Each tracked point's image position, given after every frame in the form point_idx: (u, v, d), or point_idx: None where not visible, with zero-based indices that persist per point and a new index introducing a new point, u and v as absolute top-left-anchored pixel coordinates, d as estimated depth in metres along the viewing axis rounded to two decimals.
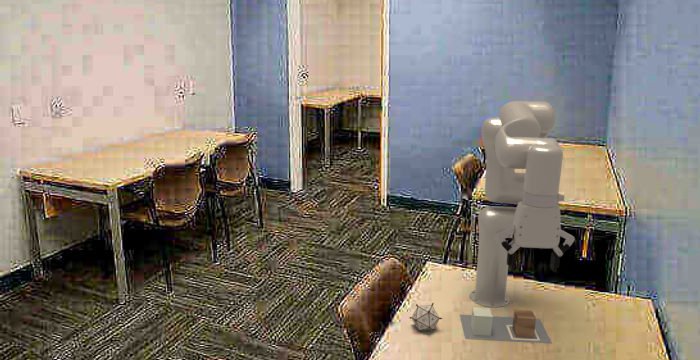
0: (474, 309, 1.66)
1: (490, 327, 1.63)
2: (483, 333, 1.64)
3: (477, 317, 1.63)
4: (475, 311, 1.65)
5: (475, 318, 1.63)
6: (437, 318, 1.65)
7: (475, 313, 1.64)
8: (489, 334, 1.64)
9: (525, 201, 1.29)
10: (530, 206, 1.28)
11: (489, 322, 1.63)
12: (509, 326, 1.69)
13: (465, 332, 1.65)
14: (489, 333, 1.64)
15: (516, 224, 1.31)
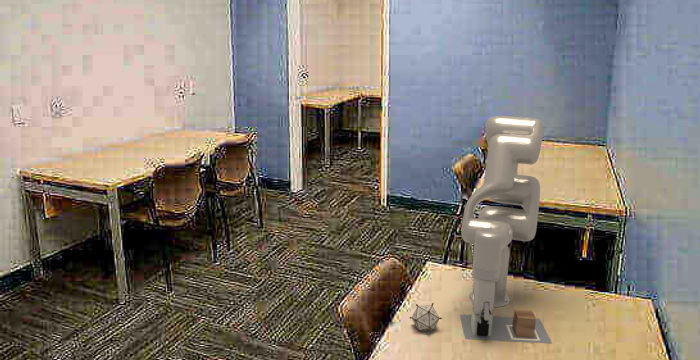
0: None
1: (490, 327, 1.63)
2: None
3: (477, 317, 1.63)
4: None
5: (475, 318, 1.63)
6: (437, 318, 1.65)
7: (475, 313, 1.64)
8: (489, 334, 1.64)
9: (492, 278, 1.58)
10: (496, 279, 1.59)
11: (489, 322, 1.63)
12: (509, 326, 1.69)
13: (465, 332, 1.65)
14: (489, 333, 1.64)
15: (490, 299, 1.58)
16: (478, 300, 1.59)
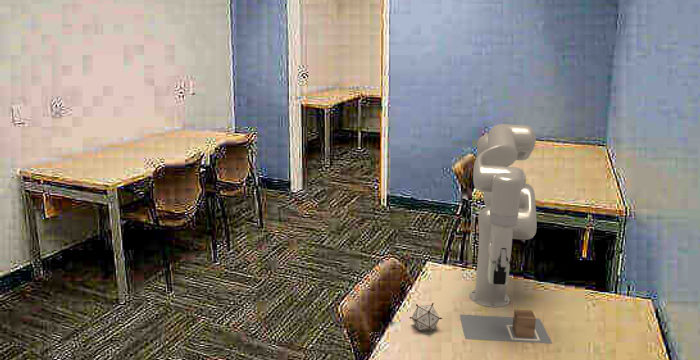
0: None
1: (507, 276, 1.59)
2: None
3: (494, 265, 1.58)
4: None
5: (492, 266, 1.58)
6: (437, 318, 1.65)
7: (492, 261, 1.59)
8: (506, 283, 1.59)
9: (510, 224, 1.54)
10: (514, 225, 1.54)
11: (506, 270, 1.58)
12: (509, 326, 1.69)
13: (465, 332, 1.65)
14: (506, 282, 1.59)
15: (508, 245, 1.54)
16: (495, 246, 1.54)
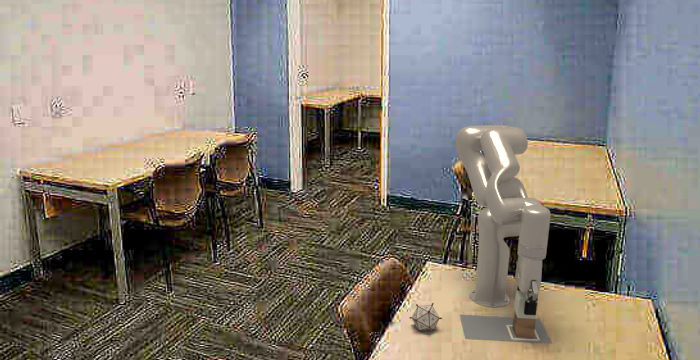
0: (518, 292, 1.64)
1: None
2: (528, 316, 1.61)
3: (522, 300, 1.60)
4: (519, 294, 1.63)
5: (520, 301, 1.60)
6: (437, 318, 1.65)
7: (520, 296, 1.61)
8: (534, 317, 1.61)
9: (539, 256, 1.55)
10: (543, 257, 1.56)
11: None
12: (509, 326, 1.69)
13: (465, 332, 1.65)
14: (534, 316, 1.61)
15: (537, 277, 1.56)
16: (525, 278, 1.56)
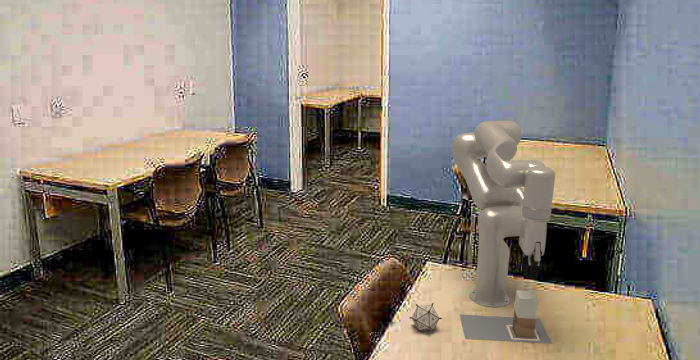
0: (518, 292, 1.64)
1: (535, 310, 1.61)
2: (528, 316, 1.61)
3: (522, 300, 1.60)
4: (519, 294, 1.63)
5: (520, 301, 1.60)
6: (437, 318, 1.65)
7: (520, 296, 1.61)
8: (534, 317, 1.61)
9: (544, 217, 1.52)
10: (548, 219, 1.53)
11: (534, 304, 1.60)
12: (509, 326, 1.69)
13: (465, 332, 1.65)
14: (534, 316, 1.61)
15: (542, 239, 1.53)
16: (529, 240, 1.53)
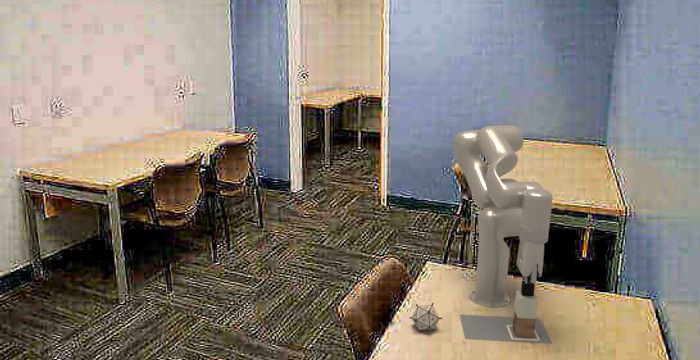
0: (518, 292, 1.64)
1: (535, 310, 1.61)
2: (528, 316, 1.61)
3: (522, 300, 1.60)
4: (519, 294, 1.63)
5: (520, 301, 1.60)
6: (437, 318, 1.65)
7: (520, 296, 1.61)
8: (534, 317, 1.61)
9: (541, 239, 1.54)
10: (545, 241, 1.55)
11: (534, 304, 1.60)
12: (509, 326, 1.69)
13: (465, 332, 1.65)
14: (534, 316, 1.61)
15: (539, 261, 1.54)
16: (527, 262, 1.55)
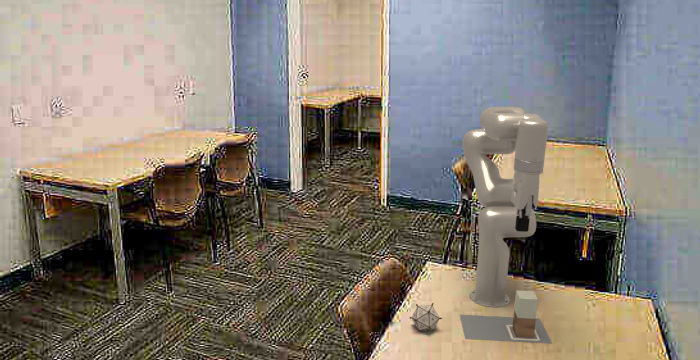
0: (518, 292, 1.64)
1: (535, 310, 1.61)
2: (528, 316, 1.61)
3: (522, 300, 1.60)
4: (519, 294, 1.63)
5: (520, 301, 1.60)
6: (437, 318, 1.65)
7: (520, 296, 1.61)
8: (534, 317, 1.61)
9: (537, 170, 1.49)
10: (541, 172, 1.50)
11: (534, 304, 1.60)
12: (509, 326, 1.69)
13: (465, 332, 1.65)
14: (534, 316, 1.61)
15: (535, 192, 1.49)
16: (522, 194, 1.50)
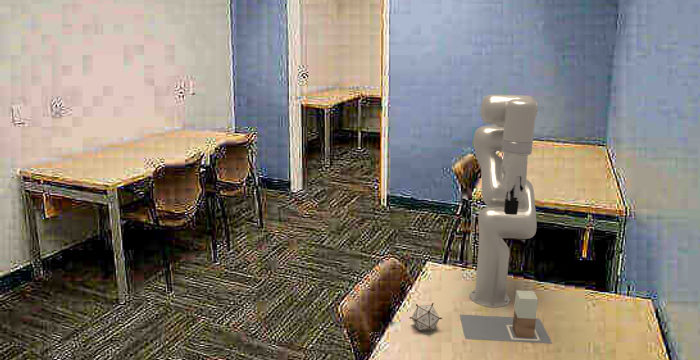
0: (518, 292, 1.64)
1: (535, 310, 1.61)
2: (528, 316, 1.61)
3: (522, 300, 1.60)
4: (519, 294, 1.63)
5: (520, 301, 1.60)
6: (437, 318, 1.65)
7: (520, 296, 1.61)
8: (534, 317, 1.61)
9: (524, 151, 1.47)
10: (529, 153, 1.48)
11: (534, 304, 1.60)
12: (509, 326, 1.69)
13: (465, 332, 1.65)
14: (534, 316, 1.61)
15: (523, 173, 1.47)
16: (509, 175, 1.48)
